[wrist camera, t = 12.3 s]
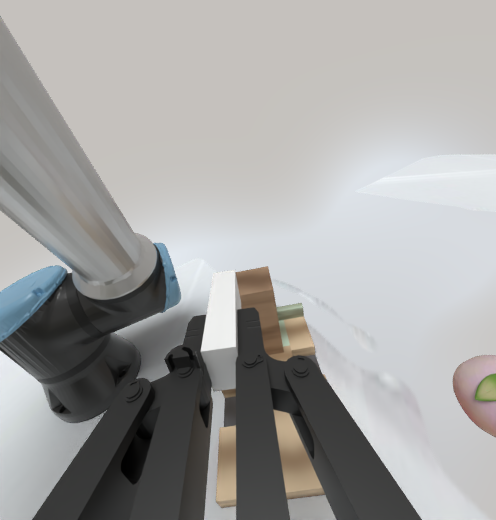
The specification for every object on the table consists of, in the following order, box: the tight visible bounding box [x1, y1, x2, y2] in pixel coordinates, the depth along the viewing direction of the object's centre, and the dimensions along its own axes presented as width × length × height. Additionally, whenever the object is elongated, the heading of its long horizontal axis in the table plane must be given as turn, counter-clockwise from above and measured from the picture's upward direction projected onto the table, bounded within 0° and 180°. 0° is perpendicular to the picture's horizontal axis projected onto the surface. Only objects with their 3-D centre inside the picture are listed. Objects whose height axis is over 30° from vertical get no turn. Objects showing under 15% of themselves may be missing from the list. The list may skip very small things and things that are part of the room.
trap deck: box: [216, 303, 326, 508], centre depth 35 cm, size 25×16×5 cm, turn 4°
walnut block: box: [235, 267, 284, 355], centre depth 37 cm, size 6×6×14 cm
